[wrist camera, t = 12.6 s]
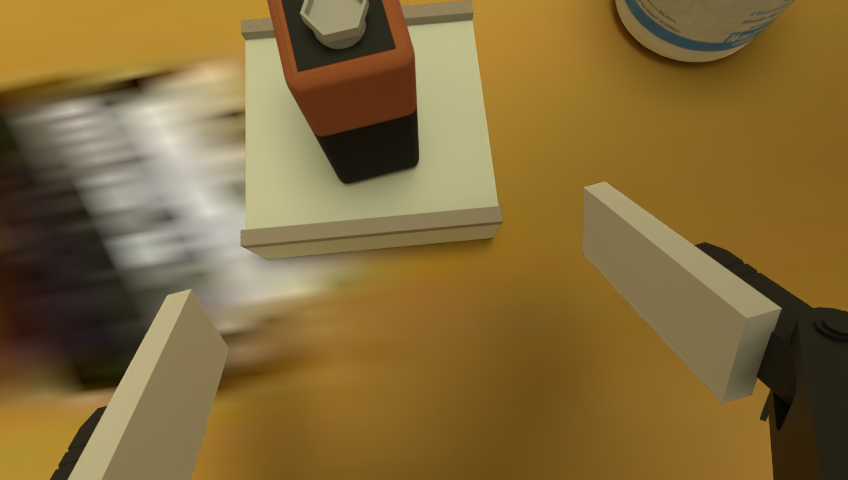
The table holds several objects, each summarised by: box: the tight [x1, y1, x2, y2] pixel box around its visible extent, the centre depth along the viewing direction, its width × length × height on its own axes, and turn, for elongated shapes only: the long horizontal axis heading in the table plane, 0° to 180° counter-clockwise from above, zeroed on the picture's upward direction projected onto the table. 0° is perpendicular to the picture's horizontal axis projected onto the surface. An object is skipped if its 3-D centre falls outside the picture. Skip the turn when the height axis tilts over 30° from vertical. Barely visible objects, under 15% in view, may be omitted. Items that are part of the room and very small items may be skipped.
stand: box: [241, 0, 503, 259], centre depth 24 cm, size 13×13×4 cm
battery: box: [267, 0, 419, 184], centre depth 18 cm, size 4×7×10 cm, turn 15°
